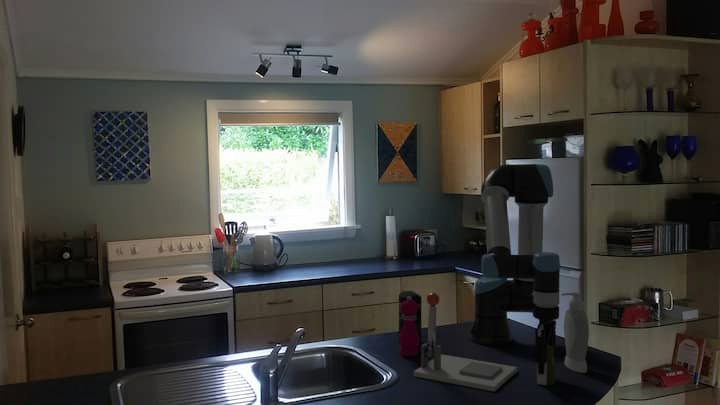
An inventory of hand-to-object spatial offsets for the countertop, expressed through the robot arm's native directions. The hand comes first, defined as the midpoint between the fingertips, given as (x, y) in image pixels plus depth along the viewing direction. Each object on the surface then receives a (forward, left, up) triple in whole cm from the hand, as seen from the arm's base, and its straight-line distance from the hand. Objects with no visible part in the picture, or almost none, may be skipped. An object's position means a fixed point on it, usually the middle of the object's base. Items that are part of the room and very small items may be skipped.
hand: (545, 380), depth 194 cm
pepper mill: (-4, -48, 0) cm, 48 cm away
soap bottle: (-16, +4, 0) cm, 17 cm away
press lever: (+10, -33, +4) cm, 35 cm away
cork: (0, 0, 0) cm, 0 cm away
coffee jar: (-16, -54, 0) cm, 56 cm away
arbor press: (+6, -24, 0) cm, 25 cm away
